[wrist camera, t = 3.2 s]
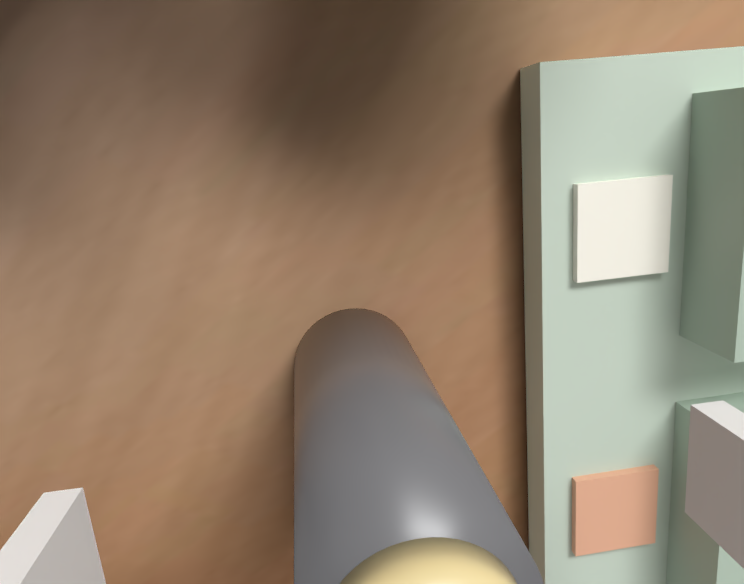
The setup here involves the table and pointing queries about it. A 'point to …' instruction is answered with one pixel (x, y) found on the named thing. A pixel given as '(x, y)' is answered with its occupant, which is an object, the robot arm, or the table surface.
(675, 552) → the socket block
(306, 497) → the plug
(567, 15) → the table surface
